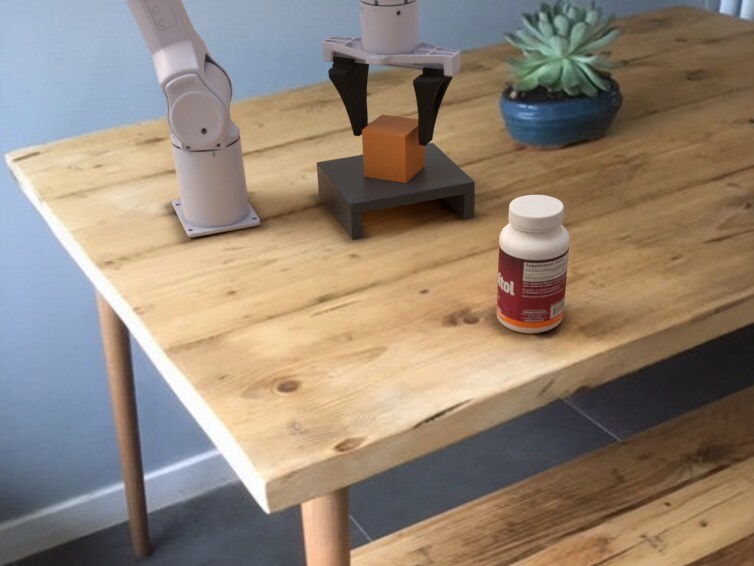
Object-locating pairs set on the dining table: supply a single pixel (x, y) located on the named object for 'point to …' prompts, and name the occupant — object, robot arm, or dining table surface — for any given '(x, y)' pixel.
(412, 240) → the dining table surface
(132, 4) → the robot arm
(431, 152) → the shelf
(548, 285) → the pill bottle
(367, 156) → the cube
